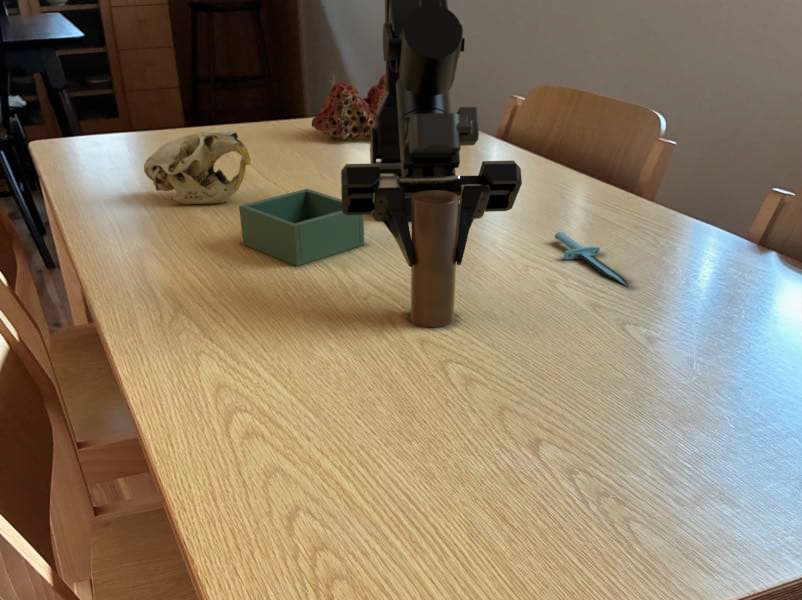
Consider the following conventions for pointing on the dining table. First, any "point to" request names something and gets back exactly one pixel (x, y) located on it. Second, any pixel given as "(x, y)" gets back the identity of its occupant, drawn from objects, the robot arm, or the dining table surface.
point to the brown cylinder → (434, 257)
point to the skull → (197, 167)
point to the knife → (588, 257)
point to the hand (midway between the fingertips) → (435, 264)
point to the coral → (349, 111)
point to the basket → (300, 226)
